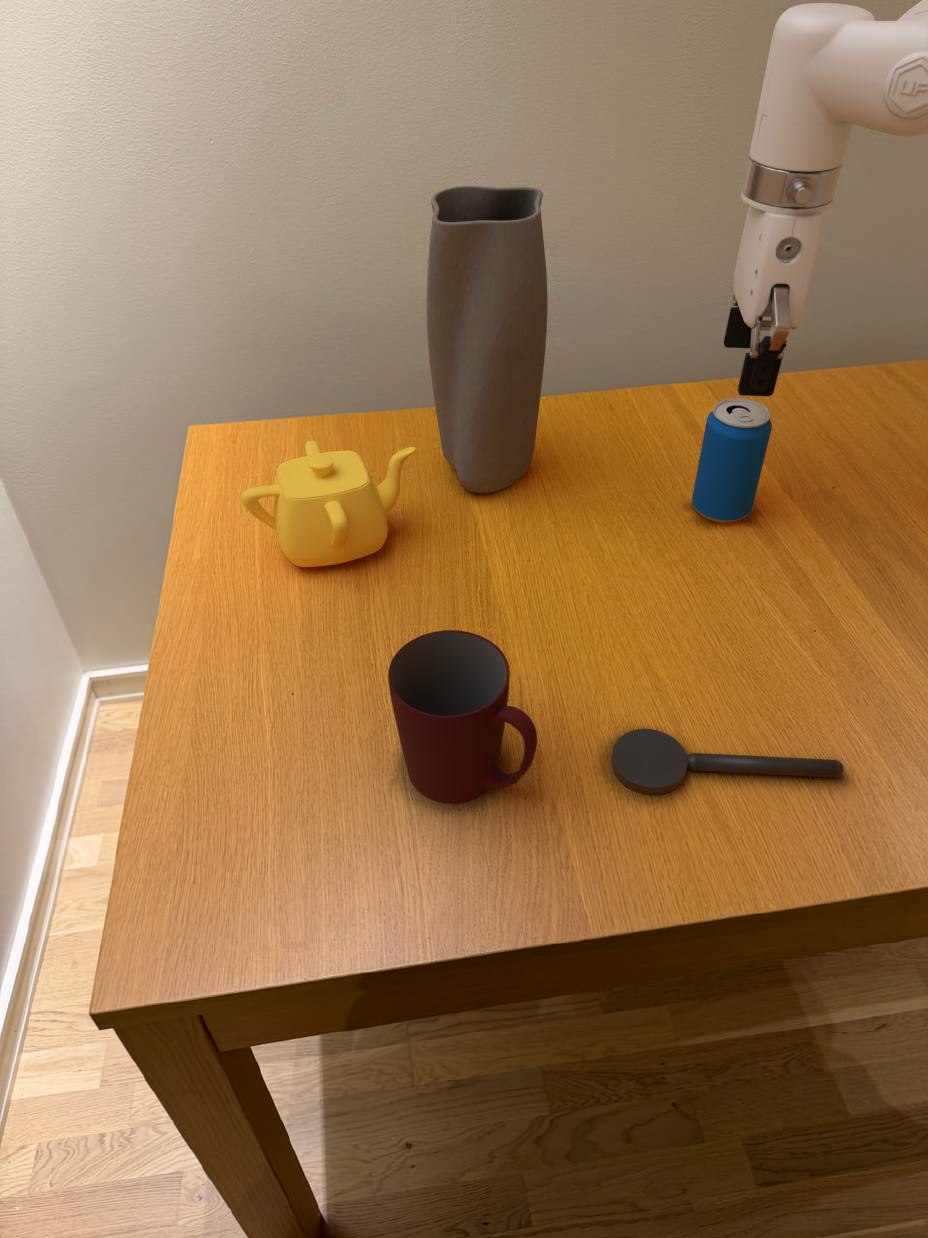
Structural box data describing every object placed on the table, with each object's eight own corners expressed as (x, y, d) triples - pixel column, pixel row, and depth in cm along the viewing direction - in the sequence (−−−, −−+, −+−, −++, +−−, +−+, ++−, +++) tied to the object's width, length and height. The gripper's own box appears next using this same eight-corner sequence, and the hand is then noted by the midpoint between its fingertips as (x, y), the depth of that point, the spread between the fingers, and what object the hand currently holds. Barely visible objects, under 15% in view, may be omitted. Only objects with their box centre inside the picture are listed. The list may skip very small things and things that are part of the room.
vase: (545, 448, 107) (559, 184, 87) (533, 507, 99) (545, 227, 78) (446, 441, 109) (436, 179, 89) (425, 497, 100) (409, 221, 80)
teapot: (327, 491, 102) (314, 411, 95) (422, 523, 97) (416, 441, 90) (248, 557, 93) (228, 474, 86) (348, 596, 88) (335, 511, 81)
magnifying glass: (832, 745, 73) (836, 734, 72) (850, 805, 69) (855, 794, 68) (609, 734, 74) (611, 723, 73) (612, 793, 70) (614, 782, 69)
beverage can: (736, 489, 100) (758, 392, 92) (760, 523, 96) (785, 424, 87) (682, 496, 100) (699, 399, 91) (703, 530, 95) (723, 431, 87)
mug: (561, 776, 71) (569, 681, 64) (495, 852, 66) (497, 759, 59) (444, 709, 77) (439, 614, 69) (375, 775, 72) (362, 680, 64)
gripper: (860, 219, 68) (803, 416, 80) (813, 152, 81) (770, 331, 93) (761, 217, 69) (719, 413, 80) (730, 151, 81) (697, 329, 93)
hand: (746, 369), depth 87 cm, fingers open, 9 cm apart
